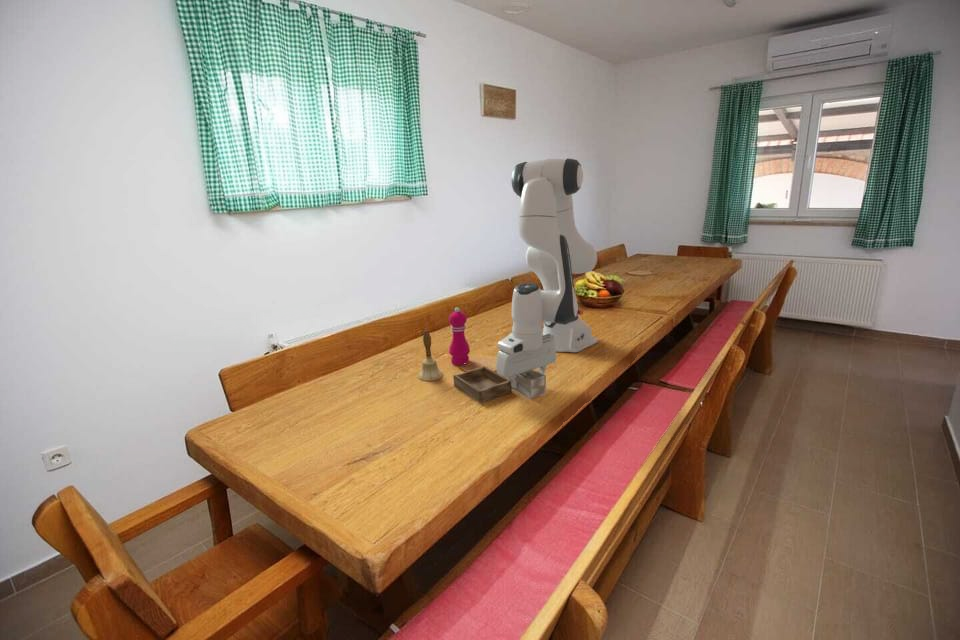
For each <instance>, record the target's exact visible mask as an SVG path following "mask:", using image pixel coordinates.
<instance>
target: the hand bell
mask: <svg viewBox="0 0 960 640" xmlns="http://www.w3.org/2000/svg"><path fill="white" fill-rule="evenodd" d="M422 340H423V346H424V348H425V357H426V358H425V359H424V360H423V361H422V367H421V370H420V371H419V373H418V375H417V378H418V379H419V380H421V381H425V382H434V381H436V380H439V379H441V378H442V377H443V375H444V374H443V371H442V370H440V369H439V367H438V364H437V360H436V359H435V358H432V357H433V356H432V351H431V347H432V337H431V334H430V331H429V330H428V329H425V330H424V332H423V337H422Z"/></svg>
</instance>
